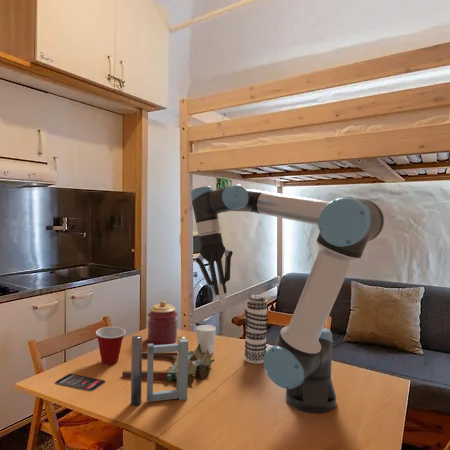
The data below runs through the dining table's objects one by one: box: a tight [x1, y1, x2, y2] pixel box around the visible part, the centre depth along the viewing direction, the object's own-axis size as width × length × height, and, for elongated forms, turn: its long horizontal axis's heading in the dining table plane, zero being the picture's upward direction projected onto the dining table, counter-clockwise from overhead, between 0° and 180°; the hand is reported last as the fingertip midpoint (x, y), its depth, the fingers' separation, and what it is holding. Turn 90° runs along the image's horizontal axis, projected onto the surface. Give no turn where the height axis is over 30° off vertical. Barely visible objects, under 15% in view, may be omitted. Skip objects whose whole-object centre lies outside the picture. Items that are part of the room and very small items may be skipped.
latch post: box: [175, 335, 188, 390], centre depth 117 cm, size 3×3×18 cm
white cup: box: [196, 324, 217, 355], centre depth 152 cm, size 8×8×10 cm
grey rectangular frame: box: [146, 338, 189, 403], centre depth 113 cm, size 12×2×18 cm, turn 106°
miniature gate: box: [121, 344, 215, 387], centre depth 136 cm, size 27×6×30 cm
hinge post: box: [130, 335, 143, 407], centre depth 111 cm, size 3×3×20 cm
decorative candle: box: [244, 294, 269, 364], centre depth 146 cm, size 9×9×25 cm
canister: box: [147, 300, 178, 345], centre depth 165 cm, size 13×13×18 cm
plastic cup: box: [95, 326, 126, 366], centre depth 140 cm, size 11×11×12 cm
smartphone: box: [54, 373, 106, 392], centre depth 123 cm, size 7×1×15 cm
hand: (222, 303), depth 123 cm, fingers closed
